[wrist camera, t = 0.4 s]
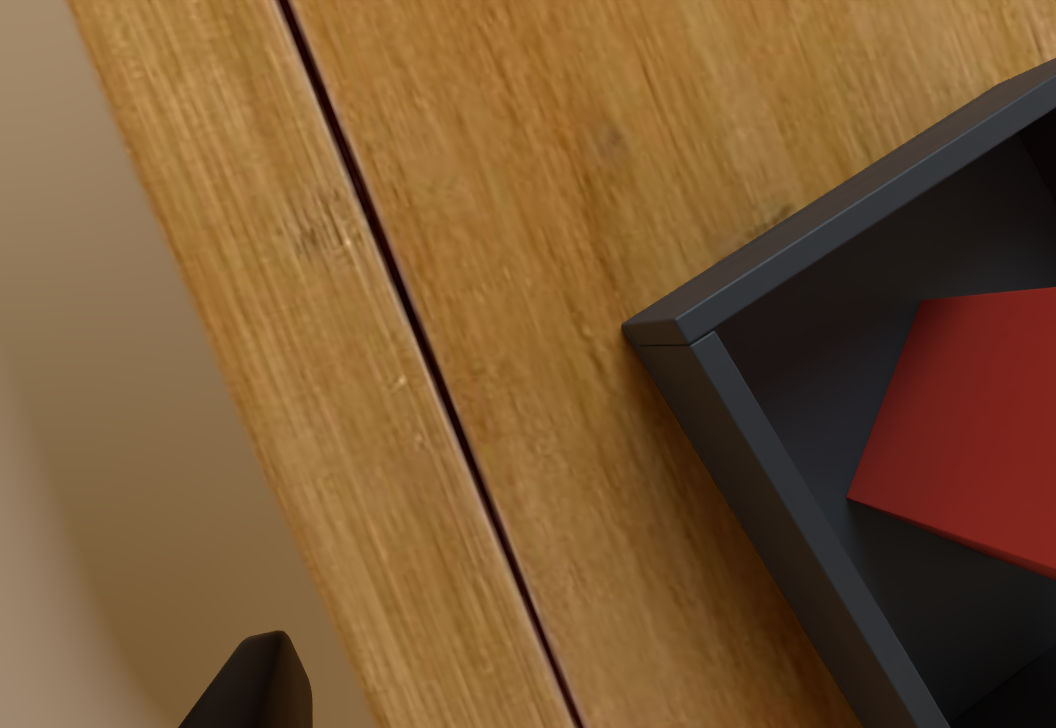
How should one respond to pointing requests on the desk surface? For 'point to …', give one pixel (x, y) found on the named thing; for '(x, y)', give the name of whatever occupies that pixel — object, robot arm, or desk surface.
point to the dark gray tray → (874, 409)
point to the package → (972, 428)
